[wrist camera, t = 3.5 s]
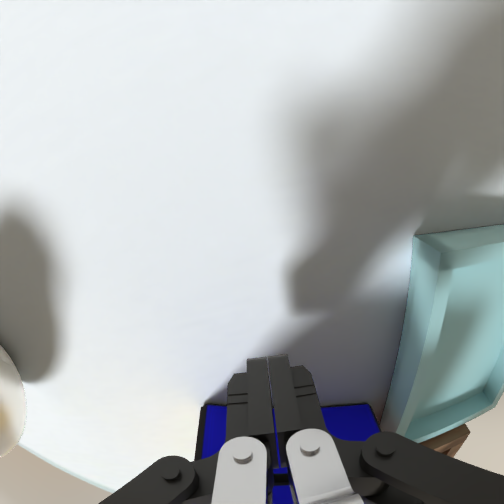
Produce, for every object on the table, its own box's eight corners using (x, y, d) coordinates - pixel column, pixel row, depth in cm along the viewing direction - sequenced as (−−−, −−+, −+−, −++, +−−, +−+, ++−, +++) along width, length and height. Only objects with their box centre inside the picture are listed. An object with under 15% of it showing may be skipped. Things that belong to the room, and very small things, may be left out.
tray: (413, 235, 12) (440, 252, 10) (532, 220, 12) (556, 231, 9) (377, 430, 16) (386, 454, 14) (482, 390, 16) (494, 407, 14)
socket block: (376, 434, 17) (388, 466, 14) (454, 406, 17) (470, 432, 14) (361, 474, 19) (369, 500, 16) (429, 451, 19) (440, 474, 16)
